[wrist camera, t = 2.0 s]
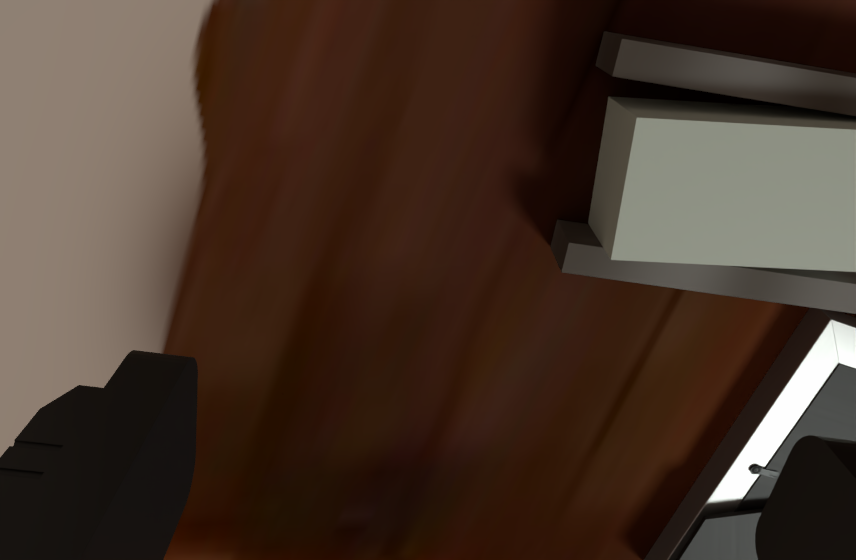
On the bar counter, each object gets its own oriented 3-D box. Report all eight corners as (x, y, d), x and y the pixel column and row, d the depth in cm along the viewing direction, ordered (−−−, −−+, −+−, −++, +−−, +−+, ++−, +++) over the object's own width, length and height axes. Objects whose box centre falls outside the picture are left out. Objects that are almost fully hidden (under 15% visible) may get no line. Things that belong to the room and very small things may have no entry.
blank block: (868, 110, 26) (939, 134, 23) (828, 233, 29) (888, 273, 25) (606, 95, 26) (636, 117, 22) (586, 220, 28) (611, 259, 25)
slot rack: (1019, 101, 26) (1076, 114, 24) (919, 300, 30) (960, 328, 27) (603, 31, 25) (621, 38, 23) (550, 246, 28) (561, 271, 26)
